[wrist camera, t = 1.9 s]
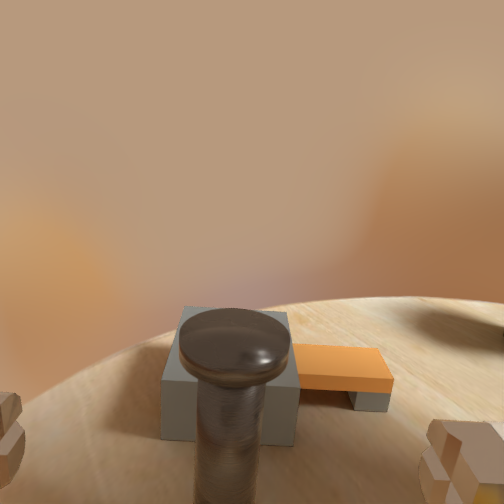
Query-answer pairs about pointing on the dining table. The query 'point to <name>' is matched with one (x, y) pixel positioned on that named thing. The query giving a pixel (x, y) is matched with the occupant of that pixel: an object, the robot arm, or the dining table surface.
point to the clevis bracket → (281, 385)
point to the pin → (230, 396)
